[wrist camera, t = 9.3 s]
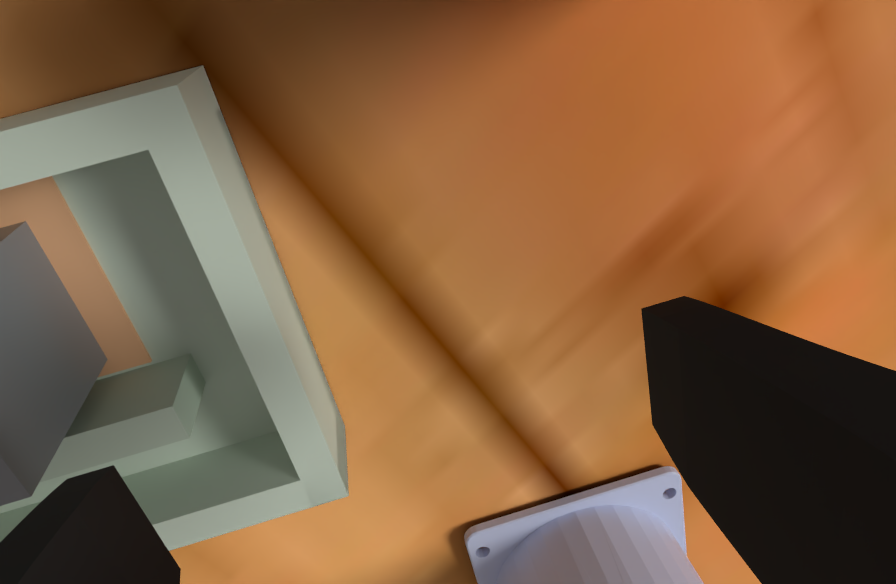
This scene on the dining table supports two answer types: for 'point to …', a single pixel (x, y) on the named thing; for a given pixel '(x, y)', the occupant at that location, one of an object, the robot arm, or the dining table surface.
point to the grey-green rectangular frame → (173, 312)
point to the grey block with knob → (37, 362)
